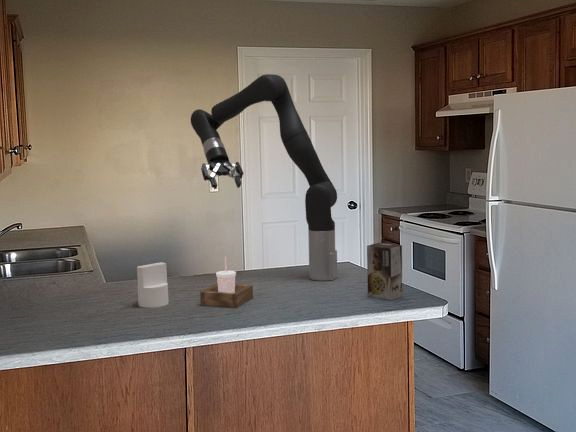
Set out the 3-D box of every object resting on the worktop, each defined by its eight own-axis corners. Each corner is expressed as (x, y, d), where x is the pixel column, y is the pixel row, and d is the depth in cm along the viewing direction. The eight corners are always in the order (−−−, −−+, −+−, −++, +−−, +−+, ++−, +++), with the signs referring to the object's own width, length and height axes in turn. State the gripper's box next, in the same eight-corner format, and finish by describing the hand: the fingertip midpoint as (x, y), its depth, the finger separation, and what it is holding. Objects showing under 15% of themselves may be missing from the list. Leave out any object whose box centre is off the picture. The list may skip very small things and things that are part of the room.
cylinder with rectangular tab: (157, 298, 207) (156, 261, 206) (174, 303, 201) (172, 264, 199) (132, 304, 201) (130, 265, 199) (149, 309, 195) (147, 269, 193)
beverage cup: (213, 303, 200) (211, 257, 198) (222, 298, 205) (220, 254, 204) (231, 304, 198) (230, 258, 196) (240, 299, 203) (238, 254, 202)
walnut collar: (253, 297, 205) (252, 285, 204) (237, 307, 194) (236, 294, 193) (218, 295, 209) (217, 283, 208) (200, 305, 198) (200, 292, 197)
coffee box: (403, 296, 202) (403, 244, 200) (391, 300, 198) (391, 247, 196) (378, 292, 208) (378, 242, 206) (366, 296, 204) (366, 244, 202)
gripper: (198, 146, 232) (210, 180, 223) (236, 145, 238) (249, 178, 229) (194, 161, 237) (205, 195, 228) (231, 159, 243) (244, 192, 234)
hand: (227, 186), depth 228 cm, fingers open, 8 cm apart
